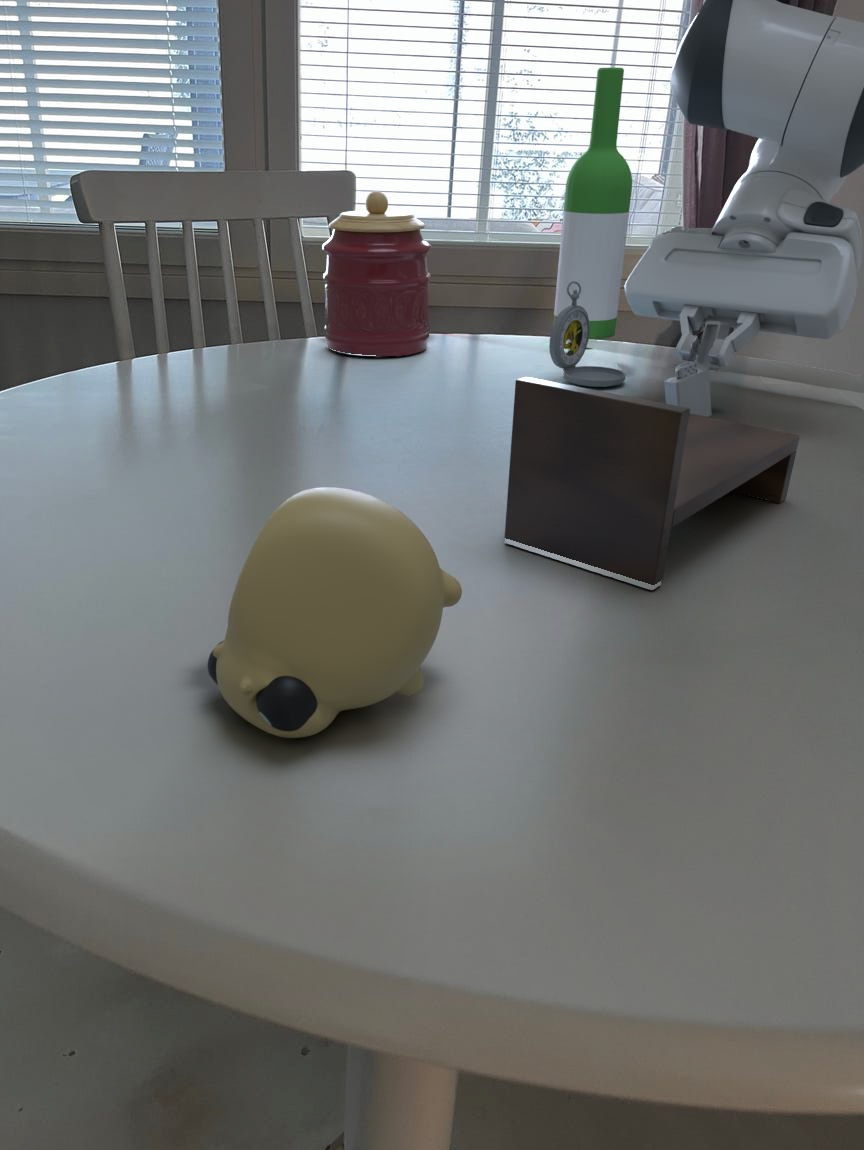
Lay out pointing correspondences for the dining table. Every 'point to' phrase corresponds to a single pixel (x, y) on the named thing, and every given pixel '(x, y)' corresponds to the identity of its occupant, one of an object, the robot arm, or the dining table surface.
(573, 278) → the wine bottle
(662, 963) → the dining table surface
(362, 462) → the dining table surface
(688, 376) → the lighter
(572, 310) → the pocket watch
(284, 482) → the dining table surface
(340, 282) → the kitchen canister
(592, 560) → the shelf
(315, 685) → the toy pig
